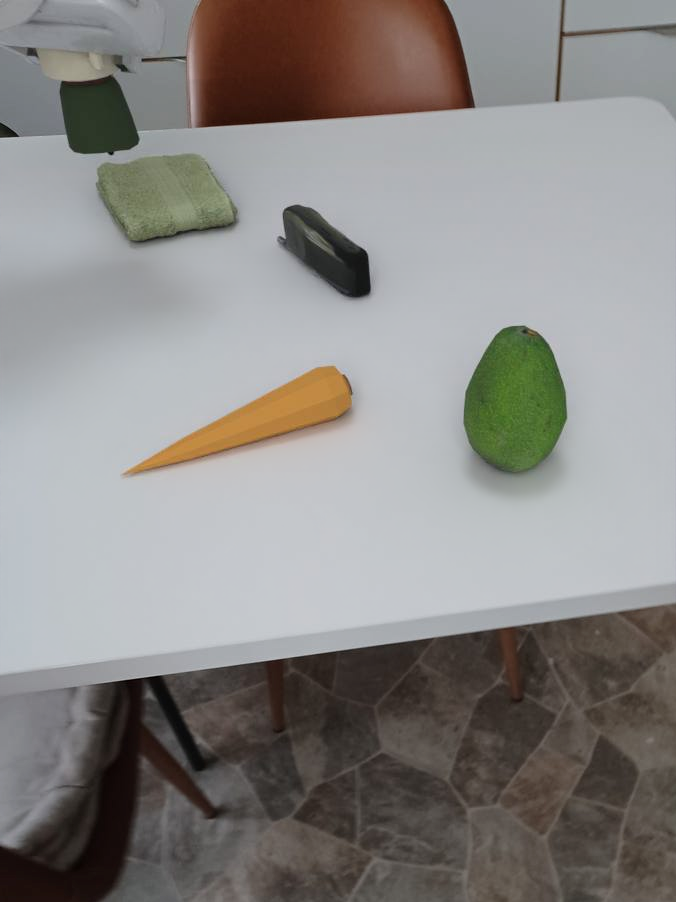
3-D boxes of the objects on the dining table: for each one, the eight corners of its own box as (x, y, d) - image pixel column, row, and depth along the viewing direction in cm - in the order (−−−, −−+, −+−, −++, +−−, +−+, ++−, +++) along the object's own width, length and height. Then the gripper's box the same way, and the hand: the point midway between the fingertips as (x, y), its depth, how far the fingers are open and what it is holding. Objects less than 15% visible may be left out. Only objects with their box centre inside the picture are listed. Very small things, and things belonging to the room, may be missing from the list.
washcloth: (204, 166, 115) (198, 138, 113) (245, 228, 105) (239, 198, 102) (93, 186, 112) (85, 157, 109) (123, 252, 101) (115, 221, 99)
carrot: (348, 405, 84) (330, 355, 82) (364, 414, 80) (347, 362, 78) (128, 494, 79) (103, 443, 77) (135, 508, 75) (109, 455, 73)
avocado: (534, 504, 74) (542, 368, 65) (446, 472, 77) (443, 337, 68) (578, 449, 79) (591, 315, 70) (494, 421, 81) (497, 288, 72)
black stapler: (373, 247, 92) (290, 190, 99) (347, 256, 91) (264, 198, 98) (376, 295, 96) (295, 236, 103) (351, 305, 94) (271, 245, 102)
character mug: (164, 161, 88) (126, -5, 78) (87, 179, 85) (38, 9, 75) (123, 123, 94) (83, -36, 84) (50, 138, 91) (1, -24, 82)
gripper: (121, -79, 69) (202, 33, 83) (-133, -96, 72) (-14, 15, 86) (109, 11, 70) (192, 107, 83) (-142, -9, 72) (-22, 87, 86)
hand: (86, 61), depth 85 cm, fingers closed on character mug, 7 cm apart
